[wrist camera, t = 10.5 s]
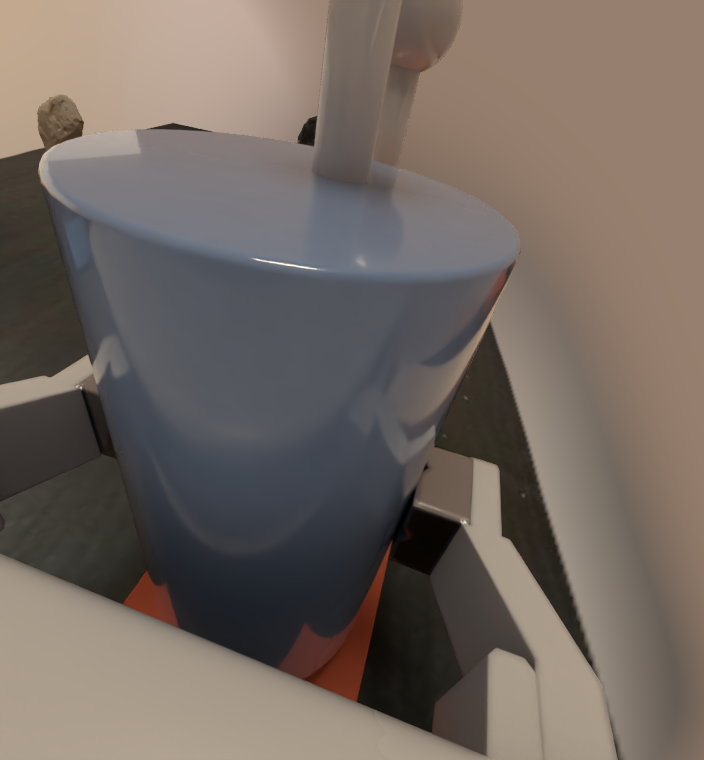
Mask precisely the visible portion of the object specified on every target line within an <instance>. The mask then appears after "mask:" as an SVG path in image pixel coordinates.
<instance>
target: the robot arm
mask: <svg viewBox="0 0 704 760" xmlns="http://www.w3.org/2000/svg"><path fill="white" fill-rule="evenodd" d="M101 454H103V455H106V456H109V457H112V458H115V459H117V458H116V454H115V451H114V447H113V443H112V440H111V436H110V433H109V429H108V425H107V422H106V418H105V414H104V411H103V407H102V404H101V400H100V396H99V393H98V389H97V385H96V382H95V378H94V374H93V371H92V367H91V364H90V360H89V356H88V355H87V356H85V357H84V358H82V359H80V360H79V361H77V362H76V363H74V364H72V365H71V366H69V367H68V368H66V369H64V370H63V371H61V372H60V373H58V374H56V375H55V376H53V377H51V378H50V377H47V376H40V377H36V378H31V379H26V380H22V381H17V382H12V383H8V384H3V385H0V501H2V500H5V499H7V498H9V497H11V496H13V495H16V494H18V493H20V492H22V491H25V490H27V489H29V488H31V487H33V486H36V485H38V484H40V483H42V482H45V481H47V480H49V479H51V478H53V477H56V476H58V475H60V474H62V473H65V472H67V471H69V470H71V469H73V468H76V467H78V466H80V465H82V464H85V463H87V462H89V461H91V460H93V459H96V458H98V457H100V456H101ZM4 524H5V520H4V518H3V517H2V515H1V514H0V531H1V530H2V529H3V528H4ZM388 559H390V560H392V561H395V562H397V563H400V564H402V565H405V566H407V567H410V568H412V569H415V570H417V571H420V572H422V573H425V574H427V575H430V576H429V580H430V582H431V585H432V588H433V591H434V594H435V597H436V600H437V603H438V606H439V608H440V611H441V614H442V617H443V620H444V623H445V626H446V629H447V632H448V634H449V637H450V640H451V643H452V646H453V649H454V652H455V655H456V658H457V660H458V663H459V666H460V669H461V672H462V675H463V678H462V679H461V680H460V681H459V682H458V683H456V684H455V685H454V686H453V687H452V688H451V689H450V690H449V691H448V692H447V693H446V694H444V695H443V696H442V697H441V698H440V699H439V700H438V701H437V702H436V703H435V706H434V716H433V726H432V733H429V732H427V731H425V730H422V729H420V728H417V727H415V726H413V725H410V724H408V723H405V722H403V721H401V720H398V719H396V718H393V717H391V716H389V715H386V714H384V713H381V712H379V711H377V710H374V709H372V708H369V707H367V706H365V705H362V704H360V703H357V702H355V701H353V700H350V699H348V698H345V697H343V696H341V695H338V694H336V693H334V692H331V691H329V690H326V689H324V688H322V687H319V686H317V685H314V684H312V683H310V682H307V681H305V680H302V679H300V678H298V677H295V676H293V675H290V674H288V673H286V672H283V671H281V670H278V669H276V668H274V667H271V666H269V665H266V664H264V663H262V662H259V661H257V660H254V659H252V658H250V657H247V656H245V655H242V654H240V653H238V652H235V651H233V650H230V649H228V648H226V647H223V646H221V645H218V644H216V643H214V642H211V641H209V640H206V639H204V638H202V637H199V636H197V635H194V634H192V633H190V632H187V631H185V630H182V629H180V628H178V627H175V626H173V625H170V624H168V623H166V622H163V621H161V620H158V619H156V618H154V617H151V616H149V615H146V614H144V613H142V612H139V611H137V610H134V609H132V608H130V607H127V606H125V605H122V604H120V603H118V602H115V601H113V600H110V599H108V598H106V597H103V596H101V595H98V594H96V593H94V592H91V591H89V590H86V589H84V588H82V587H79V586H77V585H74V584H72V583H70V582H67V581H65V580H62V579H60V578H58V577H55V576H53V575H51V574H48V573H46V572H43V571H41V570H39V569H36V568H34V567H31V566H29V565H27V564H24V563H22V562H19V561H17V560H15V559H12V558H10V557H7V556H5V555H3V554H0V760H617V755H616V750H615V745H614V740H613V735H612V730H611V725H610V720H609V714H608V709H607V704H606V699H605V694H604V689H603V686H602V684H601V682H600V681H599V679H598V678H597V676H596V675H595V673H594V671H593V670H592V668H591V667H590V665H589V664H588V662H587V660H586V659H585V657H584V656H583V654H582V653H581V651H580V649H579V648H578V646H577V645H576V643H575V642H574V640H573V638H572V637H571V635H570V634H569V632H568V630H567V629H566V627H565V626H564V624H563V623H562V621H561V619H560V618H559V616H558V615H557V613H556V612H555V610H554V608H553V607H552V605H551V604H550V602H549V601H548V599H547V597H546V596H545V594H544V593H543V591H542V590H541V588H540V586H539V585H538V583H537V582H536V580H535V578H534V577H533V575H532V574H531V572H530V571H529V569H528V567H527V566H526V564H525V563H524V561H523V560H522V558H521V556H520V555H519V553H518V552H517V550H516V549H515V547H514V545H513V544H512V542H511V541H510V540H509V539H507V538H504V537H502V529H501V503H500V477H499V468H498V466H497V465H495V464H491V463H488V462H485V461H482V460H479V459H476V458H470V457H468V456H465V455H462V454H459V453H456V452H453V451H450V450H447V449H444V448H441V447H438V446H434V447H433V450H432V452H431V454H430V456H429V459H428V461H427V463H426V465H425V467H424V470H423V472H422V474H421V476H420V479H419V481H418V483H417V485H416V487H415V490H414V492H413V494H412V496H411V498H410V501H409V503H408V505H407V507H406V510H405V512H404V514H403V517H402V519H401V521H400V523H399V525H398V528H397V530H396V532H395V534H394V537H393V539H392V543H391V548H390V553H389V557H388Z"/></svg>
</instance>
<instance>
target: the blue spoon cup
mask: <svg viewBox="0 0 704 760" xmlns="http://www.w3.org/2000/svg"><path fill="white" fill-rule="evenodd" d="M401 5H402V0H329V9H328V18H327V28H326V37H325V48H324V56H323V66H322V76H321V85H320V95H319V104H318V114H317V123H316V132H315V142H314V147H313V146H308V145H303V144H298V143H291V142H286V141H280V140H274V139H267V138H260V137H253V136H245V135H237V134H228V133H218V132H217V133H216V132H206V131H190V130H165V129H143V130H122V131H111V132H102V133H96V134H90V135H85V136H81V137H78V138H74V139H71V140H67V141H64V142H62V143H60V144H57V145H55V146H53V147H51V148H50V149H49V150H48V151H47V152H46V153H44V154H43V156H42V159H41V161H40V164H39V169H38V173H39V178H40V182H41V186H42V189H43V193H44V197H45V200H46V204H47V207H48V211H49V215H50V218H51V222H52V226H53V229H54V233H55V236H56V240H57V244H58V247H59V251H60V255H61V258H62V262H63V266H64V269H65V273H66V276H67V280H68V284H69V287H70V291H71V295H72V298H73V302H74V305H75V309H76V313H77V316H78V320H79V324H80V327H81V331H82V335H83V338H84V342H85V345H86V349H87V353H88V356H89V360H90V364H91V367H92V371H93V374H94V378H95V382H96V385H97V389H98V393H99V396H100V400H101V404H102V407H103V411H104V414H105V418H106V422H107V425H108V429H109V433H110V436H111V440H112V443H113V447H114V451H115V454H116V458H117V462H118V465H119V469H120V473H121V476H122V480H123V483H124V487H125V491H126V494H127V498H128V502H129V505H130V509H131V512H132V516H133V520H134V523H135V527H136V531H137V534H138V538H139V542H140V545H141V549H142V552H143V556H144V560H145V563H146V567H147V571H148V574H149V578H150V581H151V585H152V589H153V592H154V596H155V600H156V603H157V607H158V611H159V614H160V618H161V621H163V622H166V623H168V624H170V625H173V626H175V627H178V628H180V629H182V630H185V631H187V632H190V633H192V634H194V635H197V636H199V637H202V638H204V639H206V640H209V641H211V642H214V643H216V644H218V645H221V646H223V647H226V648H228V649H230V650H233V651H235V652H238V653H240V654H242V655H245V656H247V657H250V658H252V659H254V660H257V661H259V662H262V663H264V664H266V665H269V666H271V667H274V668H276V669H278V670H281V671H283V672H286V673H288V674H290V675H293V676H295V677H298V678H300V679H303V678H305V677H307V676H309V675H311V674H312V673H313V672H315V671H316V670H318V669H319V668H321V667H322V666H323V665H324V664H325V663H326V662H327V661H328V660H330V659H331V658H332V657H333V656H334V655H335V653H336V652H337V651H338V650H339V649H340V647H341V646H342V645H343V643H344V642H345V640H346V639H347V637H348V636H349V634H350V632H351V630H352V628H353V626H354V624H355V622H356V620H357V617H358V615H359V613H360V611H361V608H362V606H363V604H364V602H365V599H366V597H367V595H368V593H369V591H370V588H371V586H372V584H373V582H374V579H375V577H376V575H377V573H378V570H379V568H380V566H381V564H382V561H383V559H384V557H385V555H386V552H387V550H388V548H389V546H390V544H391V541H392V539H393V537H394V534H395V532H396V530H397V528H398V525H399V523H400V521H401V519H402V517H403V514H404V512H405V510H406V507H407V505H408V503H409V501H410V498H411V496H412V494H413V492H414V490H415V487H416V485H417V483H418V481H419V479H420V476H421V474H422V472H423V470H424V467H425V465H426V463H427V461H428V459H429V456H430V454H431V452H432V450H433V447H434V445H435V443H436V441H437V438H438V436H439V434H440V432H441V429H442V427H443V425H444V423H445V420H446V418H447V416H448V414H449V412H450V409H451V407H452V405H453V403H454V400H455V398H456V396H457V394H458V391H459V389H460V387H461V385H462V382H463V380H464V378H465V376H466V373H467V371H468V369H469V367H470V365H471V362H472V360H473V358H474V356H475V353H476V351H477V349H478V347H479V344H480V342H481V340H482V338H483V335H484V333H485V331H486V329H487V326H488V324H489V322H490V320H491V317H492V315H493V313H494V311H495V309H496V306H497V304H498V302H499V300H500V297H501V295H502V293H503V291H504V288H505V286H506V284H507V282H508V279H509V277H510V275H511V273H512V270H513V268H514V266H515V263H516V261H517V259H518V257H519V255H520V251H521V248H520V247H521V244H520V236H519V234H518V232H517V230H516V229H515V228H514V226H513V225H512V224H511V223H510V222H509V221H508V220H507V219H506V218H504V217H503V216H502V215H501V214H500V213H498V212H497V211H495V210H494V209H492V208H491V207H489V206H488V205H486V204H485V203H483V202H481V201H480V200H478V199H476V198H474V197H472V196H470V195H468V194H466V193H464V192H462V191H460V190H457V189H455V188H453V187H451V186H448V185H446V184H444V183H441V182H438V181H436V180H433V179H431V178H428V177H425V176H422V175H419V174H416V173H414V172H410V171H407V170H404V169H401V168H398V167H395V166H391V165H388V164H384V163H381V162H377V161H374V160H373V155H374V149H375V144H376V139H377V133H378V128H379V123H380V117H381V112H382V107H383V101H384V96H385V91H386V85H387V80H388V75H389V69H390V64H391V59H392V53H393V48H394V43H395V37H396V32H397V27H398V21H399V16H400V11H401Z"/></svg>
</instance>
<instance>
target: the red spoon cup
mask: <svg viewBox="0 0 704 760" xmlns="http://www.w3.org/2000/svg"><path fill="white" fill-rule="evenodd" d="M462 10H463V0H402V5H401V11H400V16H399V21H398V27H397V32H396V37H395V43H394V48H393V53H392V59H391V64H390V69H389V75H388V80H387V85H386V91H385V96H384V101H383V107H382V112H381V117H380V123H379V128H378V133H377V139H376V144H375V149H374V155H373V160H374V161H377V162H381V163H384V164H388V165H391V166H395V167H399V163H400V158H401V154H402V150H403V145H404V141H405V136H406V132H407V128H408V123H409V119H410V114H411V110H412V106H413V101H414V97H415V92H416V87H417V83H418V79H419V75H420V72H423V71H425V70H427V69H429V68H431V67H432V66H434V65H435V64H436V63H438V62H439V61H440V60H441V59H442V58H443V57H444V55H445V54H446V53H447V52H448V50H449V49H450V47H451V45H452V44H453V42H454V40H455V37H456V35H457V32H458V29H459V26H460V22H461V17H462Z"/></svg>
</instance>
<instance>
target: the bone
mask: <svg viewBox="0 0 704 760" xmlns="http://www.w3.org/2000/svg"><path fill="white" fill-rule="evenodd" d="M37 114H38V130H39V134H40V136H41V138H42V141H43V143H44V146H45V150H46V152H47V151H48V150H49V149H50V148H51V147H53V146H55V145H57V144H60V143H62V142H64V141H67V140H71V139H74V138H78V137H81V136H82V130H83V124H84V122H83V120H82V117H81V116H80V114H79V112H78V110H77V107H76V105H75V103H74V102H73V101H72V100H71V99H70V98H69V97H68V96H65V95H57V96H54V97H50V98H49V100H47V101H46V102H45V103H43V104H42V105H41V106H40V107H39V109H38V113H37Z"/></svg>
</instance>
